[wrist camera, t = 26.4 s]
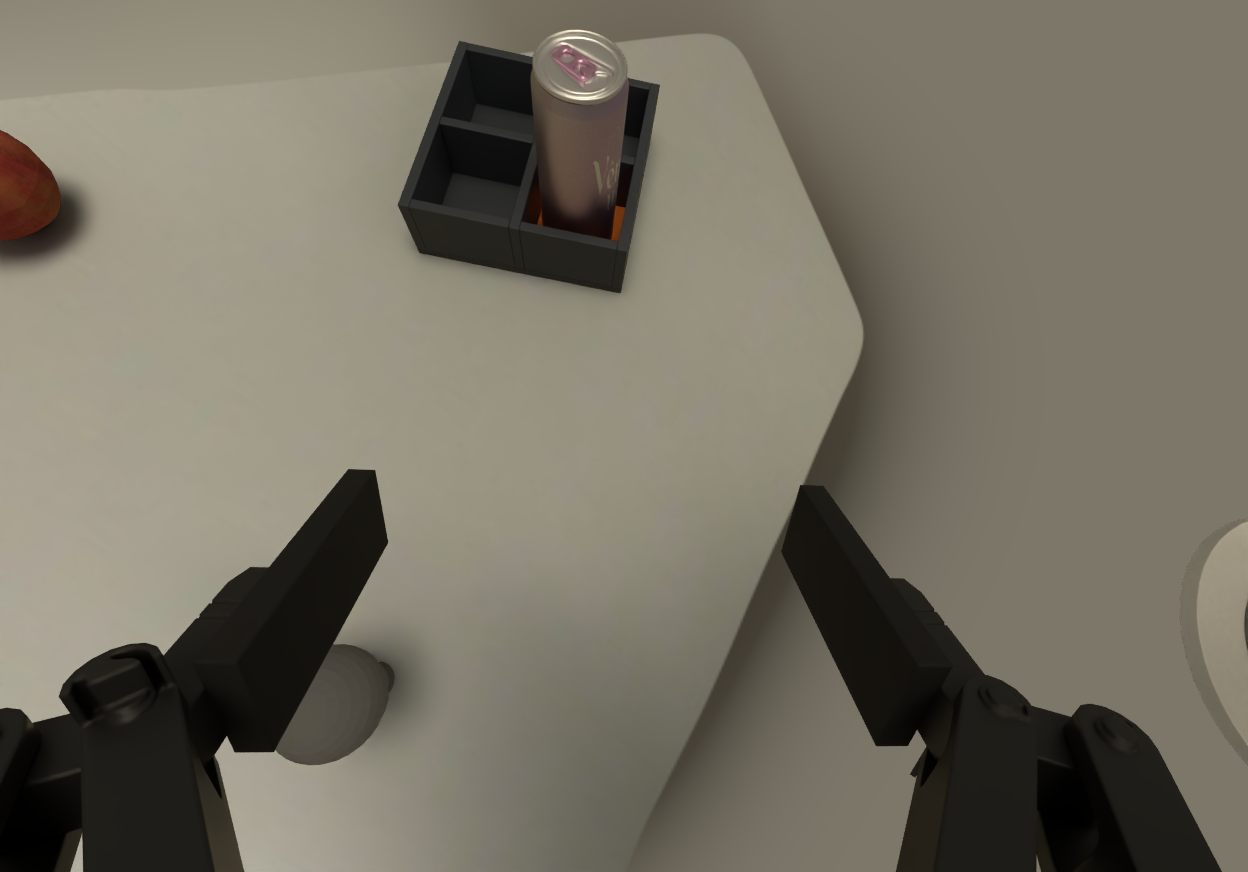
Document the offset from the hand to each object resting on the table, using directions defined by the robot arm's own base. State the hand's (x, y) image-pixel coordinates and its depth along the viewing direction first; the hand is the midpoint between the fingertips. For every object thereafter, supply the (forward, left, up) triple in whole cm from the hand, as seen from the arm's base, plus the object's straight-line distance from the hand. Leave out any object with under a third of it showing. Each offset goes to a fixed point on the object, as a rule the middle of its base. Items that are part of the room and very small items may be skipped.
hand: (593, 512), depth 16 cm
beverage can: (+5, -27, -21) cm, 35 cm away
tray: (+10, -31, -22) cm, 39 cm away
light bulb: (+12, +10, -22) cm, 27 cm away
